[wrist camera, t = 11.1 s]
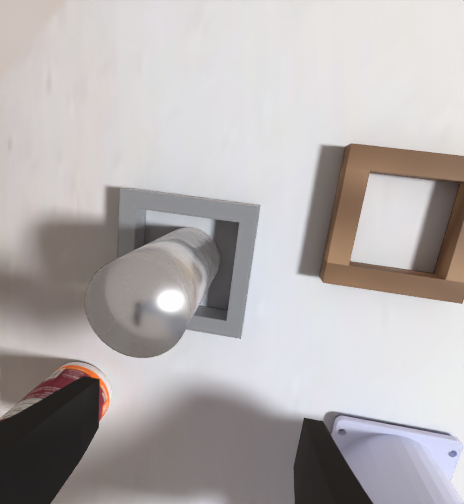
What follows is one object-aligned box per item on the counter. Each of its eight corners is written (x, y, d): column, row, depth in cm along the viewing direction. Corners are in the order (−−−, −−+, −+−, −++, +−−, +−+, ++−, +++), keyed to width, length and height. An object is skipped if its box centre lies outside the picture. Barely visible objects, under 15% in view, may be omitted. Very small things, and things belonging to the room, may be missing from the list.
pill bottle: (116, 418, 22) (29, 552, 14) (57, 412, 23) (-59, 538, 15) (112, 361, 21) (15, 471, 13) (50, 356, 22) (-80, 459, 14)
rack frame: (242, 327, 19) (240, 338, 18) (126, 307, 20) (115, 317, 19) (260, 205, 18) (259, 206, 16) (131, 188, 18) (119, 188, 17)
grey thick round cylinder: (215, 293, 19) (181, 366, 11) (156, 282, 19) (83, 347, 12) (224, 232, 18) (193, 268, 10) (161, 222, 18) (86, 249, 11)
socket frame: (449, 295, 17) (462, 303, 16) (319, 276, 18) (323, 282, 17) (490, 162, 16) (508, 161, 15) (345, 146, 16) (351, 143, 15)
